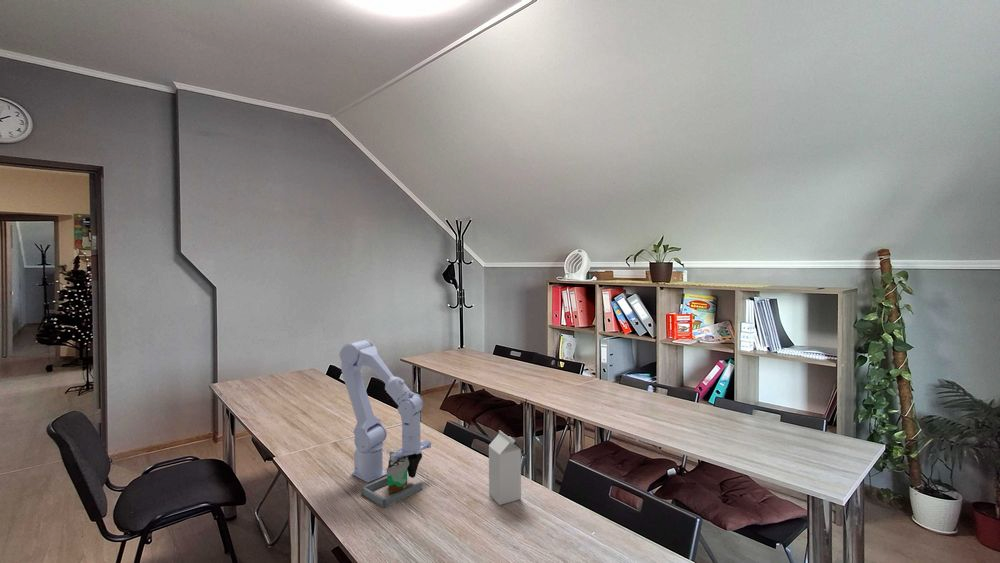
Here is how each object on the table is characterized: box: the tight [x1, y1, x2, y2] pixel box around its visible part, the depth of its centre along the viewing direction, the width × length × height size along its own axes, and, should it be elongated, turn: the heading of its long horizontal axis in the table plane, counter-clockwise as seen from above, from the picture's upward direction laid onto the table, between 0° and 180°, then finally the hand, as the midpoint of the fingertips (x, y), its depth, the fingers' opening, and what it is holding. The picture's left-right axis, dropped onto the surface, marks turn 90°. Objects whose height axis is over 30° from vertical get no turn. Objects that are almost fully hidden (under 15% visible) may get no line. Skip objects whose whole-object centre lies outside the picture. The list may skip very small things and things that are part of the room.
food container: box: [386, 451, 409, 497], centre depth 138 cm, size 12×6×10 cm, turn 9°
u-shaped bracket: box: [361, 476, 423, 508], centre depth 139 cm, size 12×14×2 cm
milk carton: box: [488, 429, 522, 506], centre depth 135 cm, size 7×7×19 cm
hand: (411, 476), depth 144 cm, fingers closed
